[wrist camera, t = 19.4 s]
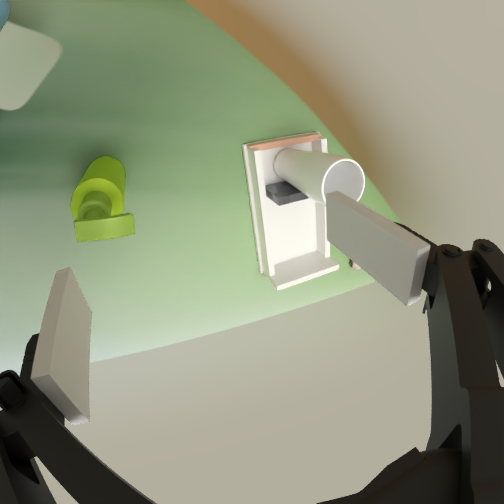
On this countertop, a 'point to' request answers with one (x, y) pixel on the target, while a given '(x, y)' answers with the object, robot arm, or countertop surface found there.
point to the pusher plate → (284, 193)
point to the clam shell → (355, 266)
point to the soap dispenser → (101, 202)
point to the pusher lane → (286, 217)
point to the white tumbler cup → (320, 173)
